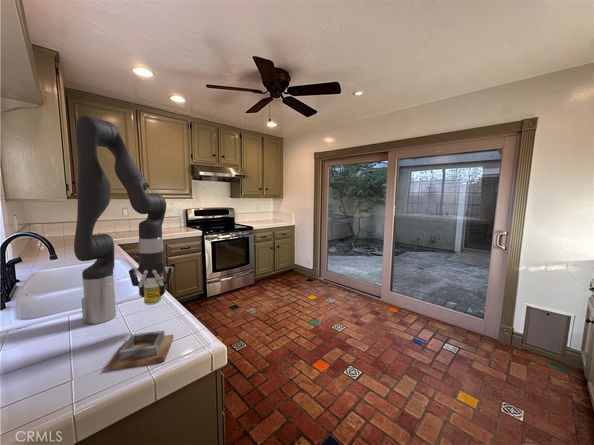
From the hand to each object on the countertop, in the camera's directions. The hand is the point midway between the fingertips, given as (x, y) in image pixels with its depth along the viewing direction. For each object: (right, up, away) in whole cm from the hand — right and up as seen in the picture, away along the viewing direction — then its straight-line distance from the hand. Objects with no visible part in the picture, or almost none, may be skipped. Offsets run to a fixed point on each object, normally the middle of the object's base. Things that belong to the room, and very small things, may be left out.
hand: (152, 295), depth 88 cm
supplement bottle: (0, -3, 0) cm, 3 cm away
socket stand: (+5, -14, -13) cm, 20 cm away
